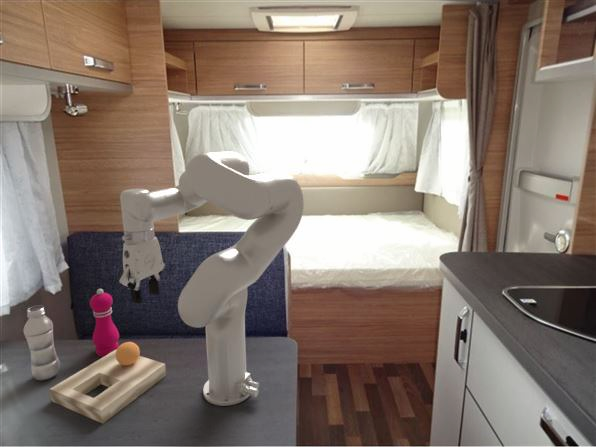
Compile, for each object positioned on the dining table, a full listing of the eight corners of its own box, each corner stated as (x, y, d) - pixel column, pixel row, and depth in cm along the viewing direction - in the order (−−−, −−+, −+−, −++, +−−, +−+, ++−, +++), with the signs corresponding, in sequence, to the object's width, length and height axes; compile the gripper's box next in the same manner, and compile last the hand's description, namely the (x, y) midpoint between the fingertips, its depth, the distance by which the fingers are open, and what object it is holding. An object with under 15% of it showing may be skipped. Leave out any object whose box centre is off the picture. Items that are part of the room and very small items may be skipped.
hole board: (166, 375, 108) (165, 363, 107) (102, 423, 90) (101, 410, 89) (118, 359, 115) (117, 348, 114) (51, 401, 98) (49, 388, 97)
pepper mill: (110, 358, 116) (102, 294, 111) (88, 355, 117) (79, 292, 112) (125, 345, 123) (118, 285, 118) (105, 343, 124) (97, 283, 119)
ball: (145, 360, 109) (143, 340, 107) (128, 372, 103) (125, 351, 102) (129, 355, 111) (127, 335, 110) (111, 366, 106) (109, 346, 104)
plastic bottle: (66, 372, 109) (56, 305, 105) (42, 386, 103) (30, 316, 99) (51, 366, 112) (40, 301, 107) (27, 380, 106) (14, 311, 101)
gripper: (123, 245, 97) (131, 313, 101) (173, 229, 112) (177, 289, 116) (102, 241, 100) (110, 307, 104) (153, 226, 115) (158, 285, 120)
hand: (146, 297), depth 110 cm, fingers open, 5 cm apart
